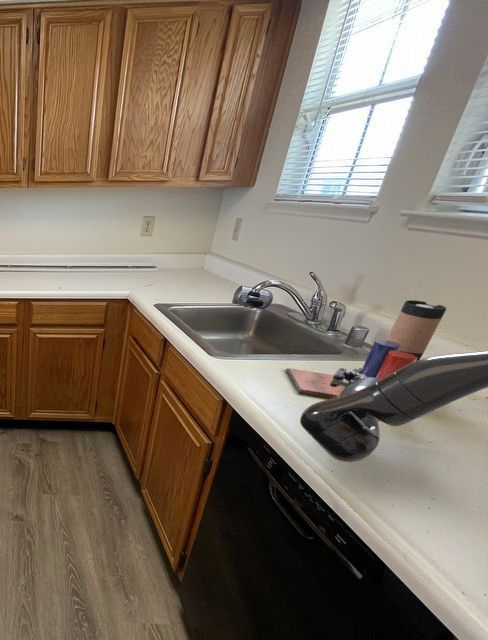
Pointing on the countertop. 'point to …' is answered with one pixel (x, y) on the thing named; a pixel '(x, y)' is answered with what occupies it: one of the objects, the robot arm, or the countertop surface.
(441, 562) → the countertop surface
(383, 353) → the cylinder
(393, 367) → the cylinder
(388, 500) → the countertop surface
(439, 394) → the robot arm
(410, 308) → the travel mug
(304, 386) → the sorting board
